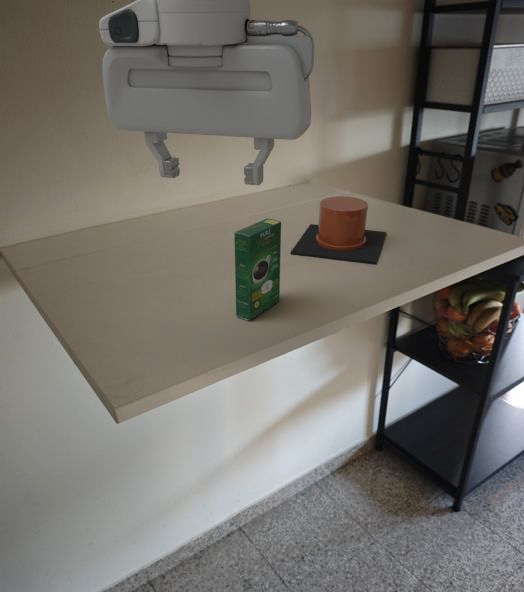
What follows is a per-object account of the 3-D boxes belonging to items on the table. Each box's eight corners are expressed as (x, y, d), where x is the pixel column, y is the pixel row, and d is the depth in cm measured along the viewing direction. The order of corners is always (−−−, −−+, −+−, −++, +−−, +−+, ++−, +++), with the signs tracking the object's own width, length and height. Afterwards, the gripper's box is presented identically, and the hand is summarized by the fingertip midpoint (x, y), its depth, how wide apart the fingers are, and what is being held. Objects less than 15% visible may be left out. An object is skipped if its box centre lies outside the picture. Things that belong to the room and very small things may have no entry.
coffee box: (266, 296, 80) (266, 215, 72) (281, 301, 78) (282, 219, 71) (234, 316, 74) (231, 231, 67) (250, 322, 73) (248, 236, 66)
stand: (369, 235, 100) (373, 198, 96) (361, 253, 93) (366, 214, 89) (321, 230, 103) (323, 193, 99) (310, 247, 95) (312, 208, 91)
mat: (386, 234, 102) (386, 231, 102) (376, 264, 90) (376, 262, 89) (310, 226, 107) (310, 223, 106) (290, 254, 94) (290, 251, 94)
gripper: (323, 18, 44) (315, 179, 51) (120, 20, 49) (140, 165, 57) (306, 20, 39) (300, 197, 46) (82, 22, 44) (110, 180, 52)
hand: (211, 180), depth 52 cm, fingers open, 8 cm apart
